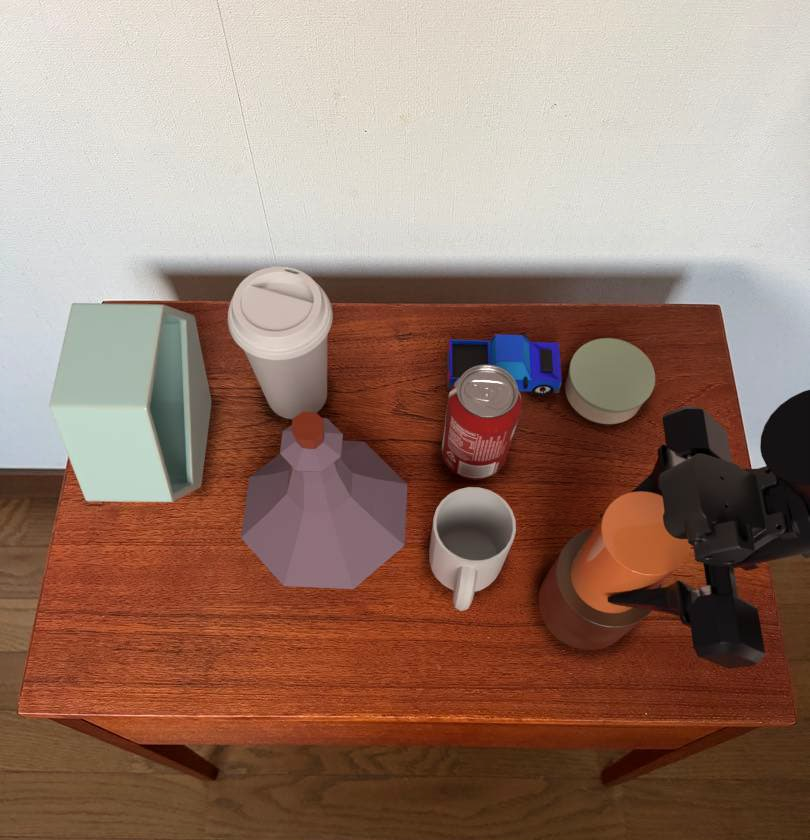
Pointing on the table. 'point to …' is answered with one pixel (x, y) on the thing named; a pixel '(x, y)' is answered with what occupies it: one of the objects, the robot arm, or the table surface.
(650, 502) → the orange cylinder
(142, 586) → the table surface
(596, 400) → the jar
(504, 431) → the soda can
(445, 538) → the cup
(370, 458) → the flask
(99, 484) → the planter
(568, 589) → the metal cylinder
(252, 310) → the coffee cup
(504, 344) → the toy car
